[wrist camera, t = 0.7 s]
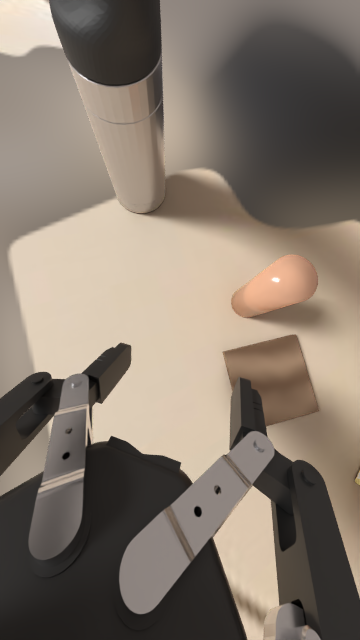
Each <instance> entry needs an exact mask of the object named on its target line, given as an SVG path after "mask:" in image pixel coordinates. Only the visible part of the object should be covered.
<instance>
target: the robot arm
mask: <svg viewBox="0 0 360 640" xmlns="http://www.w3.org/2000/svg"><path fill="white" fill-rule="evenodd" d="M49 3H50V9H51V13H52V18H53V21H54V24H55V27H56V30H57V33H58V36H59V39H60V41H61V44H62V47H63V50H64V52H65V55H66V57H67V60H68V63H69V65H70V68H71V71H72V74H73V77H74V79H75V82H76V85H77V87H78V90H79V93H80V96H81V99H82V101H83V104H84V107H85V109H86V112H87V115H88V117H89V120H90V123H91V126H92V129H93V131H94V134H95V137H96V140H97V143H98V145H99V148H100V151H101V154H102V157H103V159H104V162H105V165H106V168H107V170H108V173H109V176H110V179H111V182H112V184H113V187H114V190H115V193H116V196H117V198H118V200H119V202H120V203H121V204H122V206H124V207H125V208H126V209H128V210H129V211H132V212H135V213H147V212H151V211H153V210H155V209H156V208H158V207H159V206H160V205H161V203H162V202H163V200H164V198H165V152H164V151H165V150H164V116H163V115H164V112H163V81H162V49H161V46H162V45H161V18H160V0H49ZM130 364H131V345H128V344H124V343H120V344H118V345H117V346H116V347H115V348H113V347H112V348H110V349H108V350H106V351H105V352H104V353H103V354H101V356H99V357H98V358H97V360H95V361H94V362H93V363H92V364H91V365H90V366H89V367H88V368H87V369H86V370H85V371H83V372H82V373H81V374H74V375H72V376H70V377H68V378H67V379H52V377H51V375H50V374H49V373H47V372H38V373H35V374H32V375H31V376H29V377H27V378H26V379H25V380H23V381H22V382H21V383H20V384H18V385H17V386H16V387H15V388H13V389H12V390H11V391H9V392H8V393H7V394H5V395H4V396H3V397H2V398H1V399H0V476H1V475H2V474H3V472H4V471H5V470H6V469H7V468H8V467H9V466H10V464H11V463H12V462H13V461H14V460H15V459H16V458H17V457H18V456H19V454H20V453H21V452H22V451H23V450H24V449H25V448H26V446H27V445H28V444H29V443H30V442H31V441H32V440H33V439H34V437H35V436H36V435H37V434H38V433H39V432H40V431H41V430H42V428H43V427H44V426H45V425H46V424H47V423H48V422H49V421H50V419H51V418H52V417H53V416H54V419H53V425H52V430H51V436H50V441H49V446H48V452H47V458H46V463H45V469H44V471H43V472H41V473H40V474H38V475H36V476H35V477H33V478H31V479H30V480H28V481H26V482H24V483H22V484H21V485H19V486H18V487H16V488H14V489H12V490H10V491H9V492H7V493H5V494H3V495H2V496H0V640H247V637H246V633H245V630H244V627H243V624H242V621H241V618H240V615H239V612H238V609H237V606H236V604H235V601H234V598H233V595H232V592H231V589H230V586H229V583H228V580H227V577H226V575H225V572H224V569H223V566H222V563H221V560H220V557H219V554H218V551H217V548H216V546H215V543H214V540H213V537H214V536H215V534H216V533H217V532H218V530H219V529H220V528H221V526H222V525H223V524H224V522H225V521H226V520H227V518H228V517H229V516H230V514H231V513H232V512H233V510H234V509H235V508H236V506H237V505H238V504H239V503H240V501H241V500H242V499H243V497H244V496H245V495H246V493H247V492H248V491H249V490H250V488H251V487H252V486H254V487H256V488H257V489H258V490H259V491H261V492H262V493H263V494H264V495H266V496H267V497H268V498H270V499H271V507H272V519H273V531H274V543H275V556H276V568H277V580H278V593H279V605H280V606H278V607H275V608H273V609H271V610H270V611H269V612H268V614H267V615H266V618H265V623H264V637H263V640H360V598H359V595H358V591H357V588H356V585H355V581H354V578H353V575H352V571H351V568H350V565H349V561H348V558H347V555H346V551H345V548H344V545H343V541H342V538H341V535H340V531H339V528H338V525H337V521H336V518H335V515H334V511H333V508H332V505H331V501H330V498H329V495H328V491H327V488H326V485H325V482H324V480H323V478H322V476H321V475H320V473H319V472H318V471H317V470H316V469H315V468H314V467H313V466H312V465H311V464H309V463H307V462H305V461H303V460H296V461H295V462H292V461H291V460H289V459H288V458H286V457H284V456H283V455H281V454H280V453H279V452H278V451H276V450H275V449H274V447H273V444H272V443H271V441H270V440H269V439H268V437H267V432H266V425H265V418H264V412H263V406H262V399H261V396H260V394H259V393H258V391H257V390H255V389H252V388H251V380H249V379H245V378H242V377H238V379H237V382H236V385H235V387H234V390H233V392H232V396H231V414H230V450H231V451H230V452H229V453H228V454H227V455H223V456H221V457H220V458H219V459H218V460H217V461H216V462H215V463H214V464H213V465H212V466H211V467H210V468H209V469H208V470H207V471H206V472H205V473H204V474H203V475H202V476H201V477H199V478H198V479H197V480H196V481H195V482H194V483H192V481H191V480H190V479H189V477H188V476H187V475H186V474H185V473H184V472H183V471H182V470H181V469H180V465H181V462H178V461H176V460H173V459H170V458H168V457H165V456H161V455H147V454H142V453H141V452H139V451H138V450H137V449H136V448H134V447H133V446H132V445H131V444H129V443H128V442H126V441H124V440H121V439H118V438H116V437H113V436H111V437H110V439H109V441H104V442H97V443H94V444H93V405H94V404H95V403H96V402H98V403H101V404H102V403H103V401H104V400H105V399H106V398H107V396H108V395H109V394H110V392H111V391H112V390H113V388H114V387H115V386H116V384H117V383H118V382H119V380H120V379H121V378H122V376H123V375H124V374H125V373H126V371H127V370H128V368H129V367H130ZM30 407H31V408H30Z"/></svg>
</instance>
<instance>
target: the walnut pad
mask: <svg viewBox="0 0 360 640" xmlns="http://www.w3.org/2000/svg"><path fill="white" fill-rule="evenodd" d="M223 355H224V359H225V363H226V367H227V371H228V375H229V379H230V383H231V386H232V390H234V387H235V385H236V382H237V379H238V377H242V378H245V379H249V380H251V388H252V389H255V390H257V391H258V393H259V394H260V396H261V399H262V406H263V412H264V418H265V425H266V426H268V425H272V424H275V423H279V422H282V421H286V420H289V419H293V418H296V417H300V416H303V415H307V414H310V413H313V412H317V411H319V409H318V406H317V402H316V399H315V396H314V392H313V389H312V386H311V382H310V379H309V376H308V372H307V369H306V366H305V362H304V359H303V356H302V352H301V349H300V346H299V343H298V339H297V336H296V335H289V336H285V337H281V338H277V339H273V340H269V341H265V342H260V343H256V344H252V345H248V346H244V347H240V348H236V349H232V350H228V351H224V352H223Z"/></svg>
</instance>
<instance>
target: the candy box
mask: <svg viewBox="0 0 360 640" xmlns="http://www.w3.org/2000/svg"><path fill="white" fill-rule="evenodd" d="M355 482H356V483H357V484H358V485H359V486H360V470H359V473H358V475H357V477H356V479H355Z"/></svg>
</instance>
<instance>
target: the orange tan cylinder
mask: <svg viewBox="0 0 360 640" xmlns="http://www.w3.org/2000/svg"><path fill="white" fill-rule="evenodd" d="M317 285H318V276H317V272H316V270H315V268H314V266H313V265H312V264H311V263H310V262H309V261H308V260H307V259H305V258H303V257H301V256H298V255H286V256H283V257H281V258H279V259H278V260H277V261H275V262H274V263H273V264H271V265H270V266H269V267H267V268H266V269H265V270H263V271H262V272H261V273H259V274H258V275H257V276H255V277H254V278H253V279H252V280H250V281H249V282H248V283H246V284H245V285H244V286H242V287H241V288H240V289H238V290H237V291H236V292H235V293H234V294H233V296H232V300H231V304H232V308H233V310H234V311H235V312H236V313H237V314H238V315H239V316H241V317H245V318H249V317H253V316H256V315H259V314H263V313H266V312H269V311H273V310H276V309H279V308H283V307H286V306H289V305H292V304H296V303H299V302H302V301H305V300H307V299H309V298H310V297H311V296H312V295H313V294H314V293H315V291H316V289H317Z"/></svg>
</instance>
